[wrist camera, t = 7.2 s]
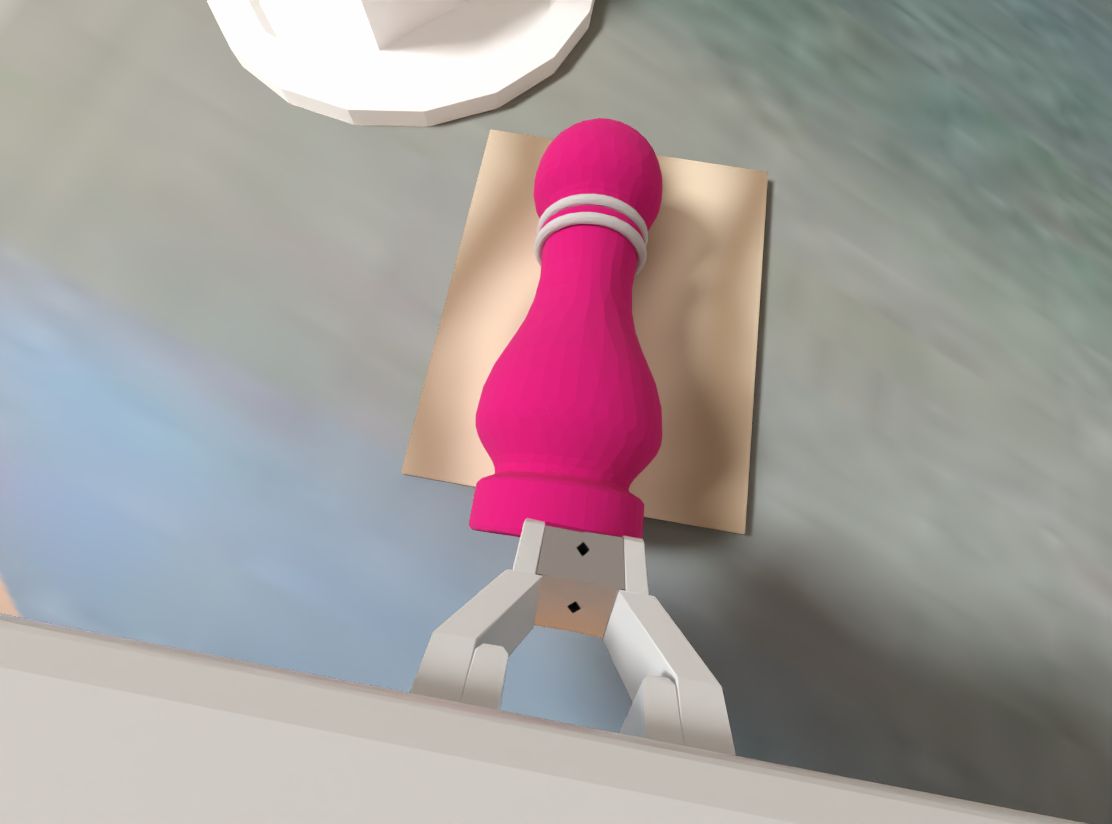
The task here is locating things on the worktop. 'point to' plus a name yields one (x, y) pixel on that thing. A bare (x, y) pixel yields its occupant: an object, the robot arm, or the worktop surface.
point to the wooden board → (659, 318)
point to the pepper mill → (577, 348)
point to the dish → (401, 53)
